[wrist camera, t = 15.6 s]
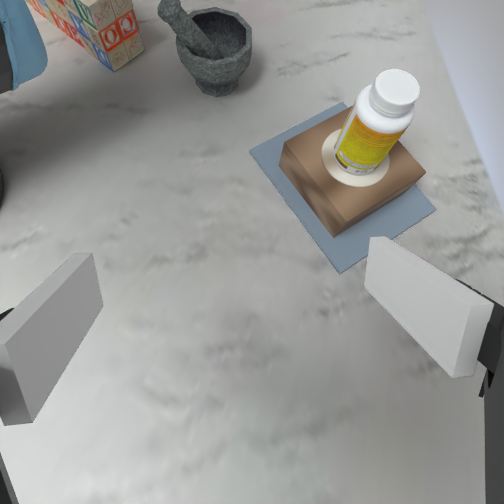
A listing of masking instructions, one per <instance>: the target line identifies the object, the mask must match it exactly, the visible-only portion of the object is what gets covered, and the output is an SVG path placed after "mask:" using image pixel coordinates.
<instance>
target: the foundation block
mask: <svg viewBox="0 0 504 504" xmlns="http://www.w3.org/2000/svg"><path fill="white" fill-rule="evenodd" d="M352 107H353V106H351V107H349V108H347V109H345V110H343V111H342V112H340V113H338V114H336V115H334V116H332V117H330V118H328V119H326V120H324V121H323V122H321V123H319V124H317V125H315V126H313V127H311V128H309V129H307V130H306V131H304V132H302V133H300V134H298V135H296V136H294V137H292V138H290V139H289V140H287V141H285V142H284V145H283V149H282V153H281V158H280V162H279V167H280V168H281V170H282V171H283V172H284V174H285V175H286V176H287V178H288V179H289V180H290V182H291V183H292V184H293V186H294V187H295V188H296V189H297V191H298V192H299V193H300V195H301V196H302V197H303V199H304V200H305V201H306V203H307V204H308V205H309V207H310V208H311V209H312V211H313V212H314V213H315V215H316V216H317V217H318V219H319V220H320V221H321V223H322V224H323V225H324V227H325V228H326V229H327V230H328V232H329V233H330V234H331V236H332V237H333V238H334V237H336V236H337V235H339V234H341V233H342V232H344V231H345V230H347V229H348V228H350V227H352V226H353V225H355V224H356V223H358V222H360V221H361V220H363V219H364V218H366V217H367V216H369V215H371V214H372V213H374V212H375V211H377V210H379V209H380V208H382V207H383V206H385V205H387V204H388V203H390V202H391V201H393V200H394V199H396V198H398V197H399V196H401V195H402V194H404V193H405V192H406V191H407V190H408V189H410V188H411V187H412V186H413V185H414V184H415V183H416V182H417V181H418V180H419V179H420V178H421V177H422V176H423V175H424V174H425V173H426V171H425V170H424V169H423V168H422V167H421V165H420V164H419V163H418V162H417V161H416V160H415V159H414V158H413V157H412V155H411V154H410V153H409V152H408V151H407V150H406V149H405V148H404V146H403V145H402V144H401V143H400V142H399V141H398V140H397V142H396V143H395V145H394V146H393V147H392V149H391V150H390V151H389V153H388V154H387V155H386V157H385V158H384V159H383V161H382V162H381V163H380V165H379V166H378V167H377V168H376V169H375V170H374V171H372V172H370V173H368V174H364V175H355V174H351V173H348V172H346V171H345V170H343V169H342V168H341V167H340V166H339V165H338V164H337V162H336V160H335V158H334V146H335V143H336V141H337V139H338V136H339V134H340V132H341V130H342V128H343V126H344V123H345V121H346V119H347V117H348V115H349V113H350V111H351V109H352Z"/></svg>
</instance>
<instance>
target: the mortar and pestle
mask: <svg viewBox="0 0 504 504" xmlns="http://www.w3.org/2000/svg"><path fill="white" fill-rule="evenodd" d="M158 15H159V16H160V17H161V19H162V20H163V21H164V22H167V23H168V24H169V25H170V26H171V28H172V29H173V30H174V32H175V33H176V34H177V37H176V45H177V51H178V54H179V57H180V60H181V62H182V63H183V65H184V66H185V67H186V68H187V69H188V70H189V72H190V73H191V74H192V75H193V76H194V78H195V79H196V84H197V86H198V87H199V88H200V89H201V90H202V92H203V93H205V94H208V95H212V96H215V97H219V96H223V95H228V94H230V93H231V92H232V91H233V90H234V89H235V88H236V87H237V86H238V77H239V76H240V75H241V74H242V73H243V72H244V71H245V69H246V68H247V67H248V65H249V62H250V58H251V49H252V30H251V27H250V26H249V25H248V24H247V23H246V22H245V21H244V20H243V18H242V17H241V16H240V15H239V14H238V13H235V12H231V11H227V10H224V9H220V8H217V7H213V8H208V9H202V10H197V11H192V12H191V13H190V14H189V15H188V14H187V13H186V12H185V11H184V10H183V8H182V7H181V4H180V1H179V0H161V2H160V4H159V6H158Z"/></svg>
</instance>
